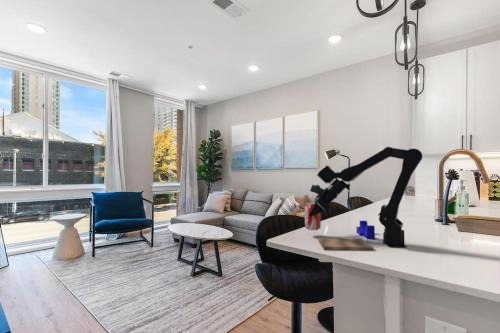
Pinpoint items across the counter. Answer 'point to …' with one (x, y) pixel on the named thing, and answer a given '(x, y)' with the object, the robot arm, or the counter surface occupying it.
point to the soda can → (312, 218)
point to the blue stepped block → (366, 230)
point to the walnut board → (344, 244)
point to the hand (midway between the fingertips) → (309, 214)
